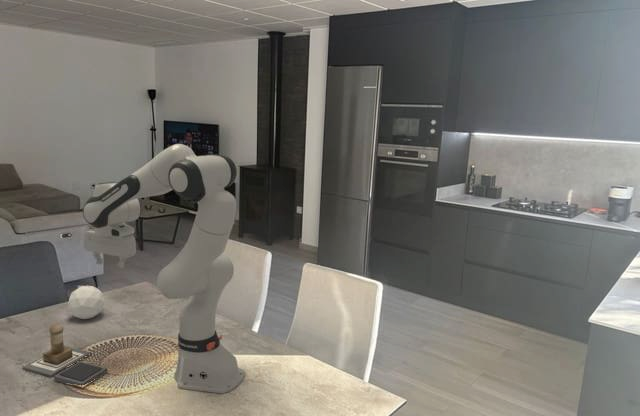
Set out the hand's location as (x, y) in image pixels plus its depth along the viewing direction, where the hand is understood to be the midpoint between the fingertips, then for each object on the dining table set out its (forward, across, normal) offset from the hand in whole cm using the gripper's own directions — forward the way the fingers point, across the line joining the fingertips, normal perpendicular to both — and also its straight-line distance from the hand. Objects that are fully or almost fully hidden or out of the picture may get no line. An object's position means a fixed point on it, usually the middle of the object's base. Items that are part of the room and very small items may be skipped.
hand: (109, 265), depth 165 cm
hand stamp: (+28, -6, -18) cm, 34 cm away
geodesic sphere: (+29, -25, +13) cm, 41 cm away
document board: (+29, -6, -18) cm, 35 cm away
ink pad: (+29, +8, -22) cm, 37 cm away
